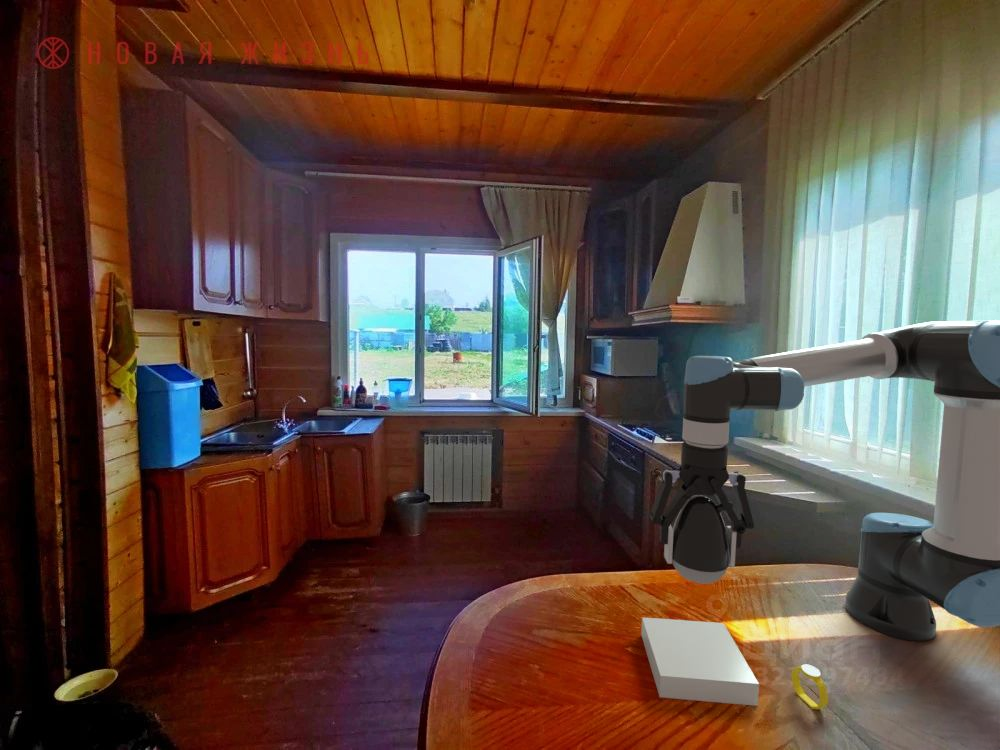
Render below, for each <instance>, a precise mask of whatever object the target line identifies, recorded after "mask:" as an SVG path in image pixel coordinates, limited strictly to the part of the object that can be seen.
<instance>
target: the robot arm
mask: <svg viewBox="0 0 1000 750" xmlns="http://www.w3.org/2000/svg"><path fill="white" fill-rule="evenodd" d="M867 377H870V378H873V379H874V380H885V379H891V378H896V379H897V378H900V379H901V378H902V379H912V380H913V379H915V380H924V381H931V382H934V386H933V395H934V396H935V397H937V398H938V399H939V400H940V401H941V402H942V403H943V411H942V412H943V413H942V424H941V425H942V426H941V434H940V435H941V437H940V449H939V458H938V468H937V469H938V470H937V481H936V482H937V483H936V493H935V501H934V502H935V504H934V514H933V523H932V521H929V520H927V519H923V518H921V517H916V516H913V515H907V514H902V513H892V512H871V513H868V514H866V515H865V516H864V517H863V518H862V523H861V528H860V535H859V537H860V538H859V551H858V565H857V566H858V567H857V575H856V577H855V579H854V581H853V583H852V585H850V586H851V587H850V588H849V590H848V592H847V593H846V595H845V605H844V606H845V609H846V611H847V612H848V614H850V616H851V617H853V618H854V619H855V620H856V621H858V622H859V623H861V624H862V625H864V626H866V627H868V628H870V629H872V630H875V631H877V632H879V633H882V634H883V635H887V636H891V637H893V638H897V639H901V640H905V641H911V642H912V641H914V642H923V641H924V642H926V641H930V640H933V638H934V637H935V636H936V633H937V621H936V618H935V614H934V611H933V608H932V604H931V602H933V603H934V604H936V605H937V606H939V607H941V608H942V609H943V610H945V611H946V613H948V614H950V615H952V616H954V617H957V618H958V619H961V620H963V621H964V622H966V623H968V624H970V625H973V626H976V627H982V628H991V627H992V628H993V627H997V626H1000V319H999V320H998V319H988V320H956V321H955V320H953V321H952V320H949V321H943V320H942V321H941V320H940V321H939V320H938V321H936V320H934V321H928V322H921V323H916V324H911V325H907V326H901V327H897V328H892V329H887V330H883V331H877V332H871V333H868V334H866V335H864V336H862V338H861V339H860V340H853V341H847V342H841V343H836V344H835V343H834V344H828V345H824V346H823V345H822V346H817V347H810V348H804V349H803V348H802V349H799V350H791V351H787V352H786V351H785V352H781V353H773V354H768V355H761V356H756V357H749V358H746V359H745V358H743V359H737V360H733V359H732V358H731V357H730V356H729V357H728V356H722V355H721V356H720V355H694V356H691V357H689V358H688V359H687V360H686V365H685V371H684V380H683V384H684V387H683V388H684V390H683V393H684V394H683V396H684V397H683V418H682V419H683V421H682V436H681V438H682V440H683V442H682V443H681V455H680V456H681V457H680V467H679V468H678V470H669V469H668V468H663V469H662V472H661V474H662V475H661V483H660V486H659V489H658V492H657V494H656V497H655V499H654V501H653V505H652V508H651V511H650V513H649V518H650V520H651V521H652V524H654V525H659V534H658V535H659V537H658V538H659V540H660V542H661V544H662V545H664V547H663V548H664V550H663V551H664V552H663V557H664V559H665V561H666V563H667V564H670V565H671V564H672V565H673V562H672V552H673V531H674V529H673V526H672V523H673V522H674V520H676V518H677V516H678V514H679V512H680V510H681V509H682V507H683V506H684V505H685V503H686V502H687V500H688V499H690V498H691V497H692V496H695V495H704V496H711V497H712V496H713V495H714V496H715V498H716V499H717V501H718V503H719V504H721V505H722V506H723V507H724V509H725V511H723V513H724V514H725V516H726V517H727V519H728V521H729V523H730V525H725V527H726V531H727V536H728V541H729V550H730V565H729V568H733V569H735V568H736V567H735V565H736V551H737V550H736V549H740V548H741V546H742V535H743V534H745V532H746V530H747V529H748V530H752V529H753V528H754V527H755V523H754V519H753V515H752V511H751V508H750V504H749V499H748V496H747V492H746V488H745V487H746V480H747V479H746V476H745V475H744V474H742V473H741V472H739V471H738V470H737V471H734V472H728V470H727V467H728V456H729V455H728V453H729V448H728V447H727V444H728V443H729V439H730V438H729V437H730V436H729V435H730V418H731V411H774V412H778V411H787V410H793V409H795V408H797V407H798V406H799V405H800V404H802V401H803V399H804V397H805V396H804V395H805V387H810V386H816V385H817V386H818V385H823V384H827V383H828V384H829V383H835V382H841V381H847V380H853V379H860V378H867ZM678 478H679V479H680V480H681V482H682V483H681V484H680V486H679V488H678V491H677V493H676V494H675V496H674V497H673V498H672V500H671V501H670V502H669V504H668V505H667V503H668V500H669V497H670V494H671V491H672V488H673V484H674V483H676V481H677V479H678ZM728 481H729V483H730V484H731V486H732V489H733V493H734V497H735V501H736V505H737V508H738V513H739V516H740V519H739V517H738V515H737V514H736V512H735V510H734V508H732V507H731V505H730V503H729V502H730V501H729V500H728V498H727V496H726V494H725V492H724V490H723V488H722V487H723V486H724V485H725V484H726V483H727V482H728ZM666 505H667V507H666Z"/></svg>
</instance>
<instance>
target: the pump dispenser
mask: <svg viewBox="0 0 1000 750" xmlns="http://www.w3.org/2000/svg"><path fill="white" fill-rule="evenodd" d="M728 502H729V503H730V505H731V507H732V509H734V503H732V502H731V501H728ZM724 511H725V509H724V507H723V506H722V505H721V504H720V503H719V504H716V503H715V502H714V501H713V500H712V499H711V498H710V497H708V496H707V495H704V494H702V495H695V494H694V495H692V497H691V498H690V499H688V500H687V502H686V503H685V505H684V506H683V507H682V509H681V510H680V512H679V513H678V515H677V516H676V518H675V522H674V524H673V526H672V528H673V529H674V531H673V552H672V565H673V567H674V568H675V570H676V571H677V573H678V574H679V575H680V576H682V577H683V578H685V579H686V580H688V581H691V582H693V583H697V584H705V585H706V584H708V585H709V584H714V583H716V582H718V581H720V580H721V579H722V578H723V577H724V575H725V574H726V572H727V569H728V568H730V566H729V565H730V550H729V541H728V536H727V531H726V524H725V521H724V519H723V516H722V513H724Z"/></svg>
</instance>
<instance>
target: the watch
mask: <svg viewBox="0 0 1000 750" xmlns="http://www.w3.org/2000/svg"><path fill="white" fill-rule="evenodd" d="M800 672H801V674H802V675H803V676H805V678H808V679H810V680H813V682H814V683H815V685H816V687H817V691H818V694H819V703H818V704H817V703H816V702H815V701H814V700H813V699H811V698H810V697H809V696H808V695H807V694H806V693H805V691H804V689H803V687H802V685H801V680H800ZM821 675H822V673H821V671H820V670H819V669H818V668H817V667H815V666H813V665H812V664H811V665H810V664H808V663H807V664H806V663H804V664H802V665H799V666H795V667H794V668H793V669H792V670H791V676H790V677H791V682H792V686H793V689H794V691H795V692H796V695H797V696H798V698H799V699H801V700H803V702H805V703H806V704H807V706H809V707H810V709H812V710H820V709H824V708H826V707H827V706H828V704H829V692H828V690H827V687H826V685H825V683H824V681H823V680H822V678H821V677H822V676H821Z"/></svg>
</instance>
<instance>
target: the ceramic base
mask: <svg viewBox="0 0 1000 750" xmlns="http://www.w3.org/2000/svg"><path fill="white" fill-rule="evenodd" d="M640 635H641V638H642V641H643V645H644V649H645V652H646V655H647V656H646V657H647V658H648V662H649V665H650V670H651V672H652V676H653V678H654V679H653V680H654V682H655V685H656V688H657V693H658V696H659V698H663V699H664V698H666V699H676V700H688V701H698V702H699V701H700V702H709V703H710V702H711V703H721V704H722V703H723V704H733V705H744V706H757V707H758V706H759V695H760V694H759V692H760V691H759V689H760V683H759V681H758V680H757V678H756V676H755V675H754V673H753V671H752V669H751V668H750V665H749V664H748V663H747V661H746V659H745V657H744V655H743V654H742V652H741V651H740V648H739V647H738V644H737V643H736V642H735V640H734V639H733V637H732V635H731V633H730V632H729V630H728V628H727V627H726V625H725V624H724V622H715V621H699V620H687V619H686V620H685V619H671V618H659V617H658V618H657V617H655V618H654V617H652V618H651V617H641V634H640Z"/></svg>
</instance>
